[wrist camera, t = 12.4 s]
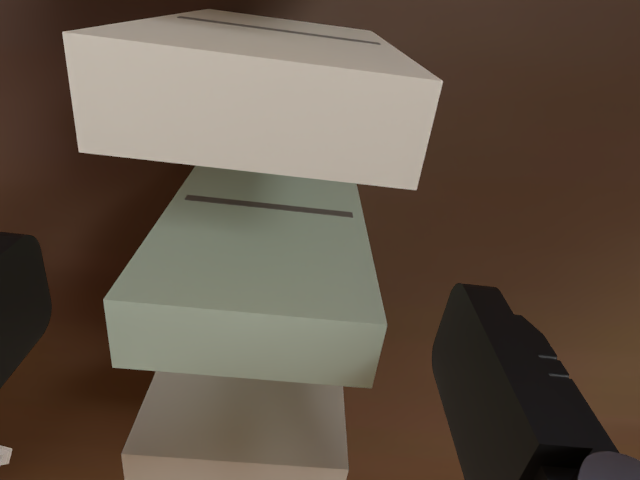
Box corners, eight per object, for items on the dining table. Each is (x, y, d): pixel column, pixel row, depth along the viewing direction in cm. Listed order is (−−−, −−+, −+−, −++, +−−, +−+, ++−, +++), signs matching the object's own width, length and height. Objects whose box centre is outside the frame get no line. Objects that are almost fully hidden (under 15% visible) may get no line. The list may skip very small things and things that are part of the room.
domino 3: (207, 247, 18) (121, 453, 10) (334, 260, 18) (348, 469, 10) (207, 281, 18) (127, 498, 11) (328, 293, 19) (338, 511, 11)
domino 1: (208, 8, 14) (61, 30, 6) (371, 30, 14) (442, 79, 6) (208, 65, 14) (78, 153, 7) (362, 84, 15) (415, 191, 7)
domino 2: (209, 144, 16) (103, 299, 8) (351, 160, 16) (387, 324, 8) (209, 188, 16) (112, 368, 9) (344, 202, 17) (371, 389, 9)
